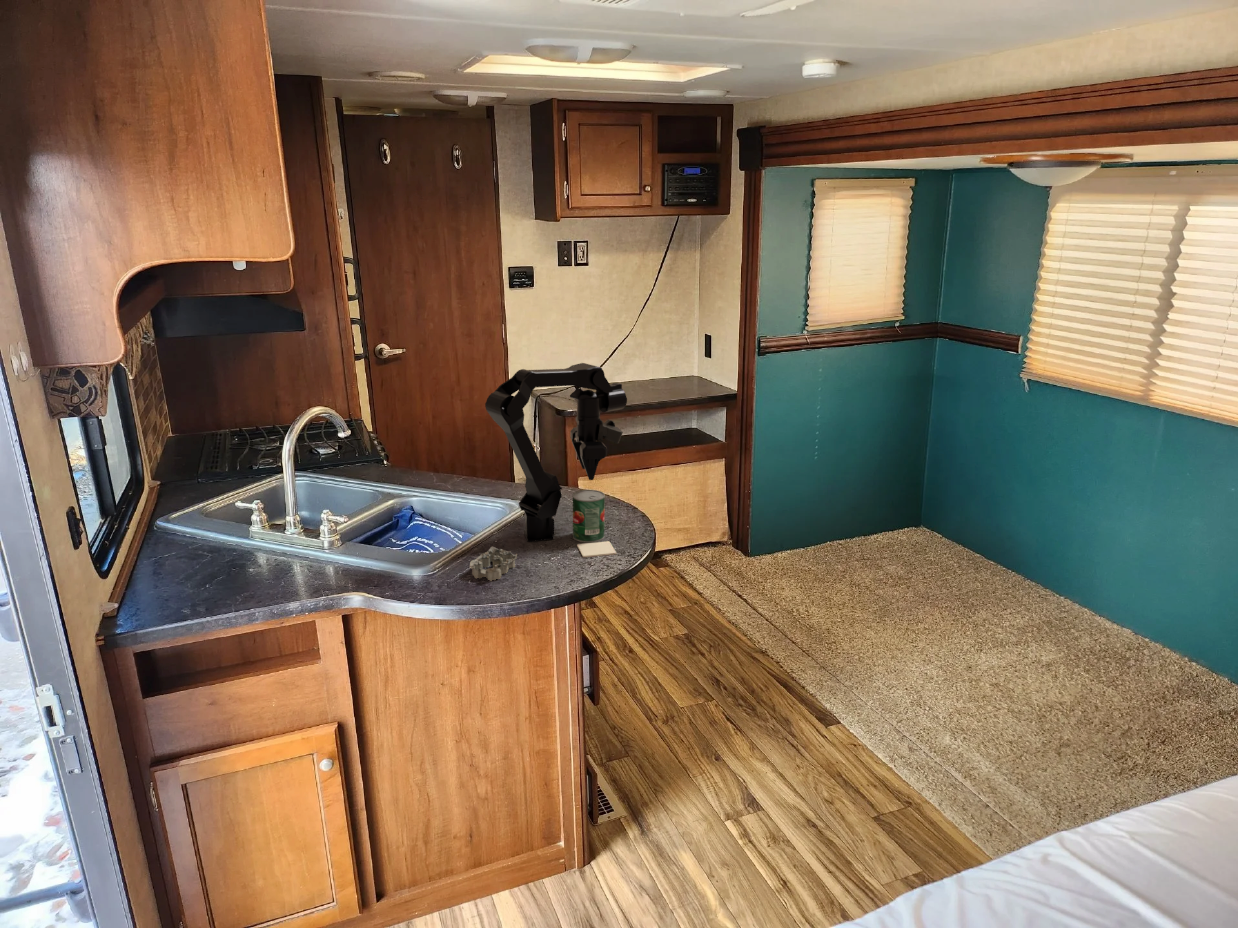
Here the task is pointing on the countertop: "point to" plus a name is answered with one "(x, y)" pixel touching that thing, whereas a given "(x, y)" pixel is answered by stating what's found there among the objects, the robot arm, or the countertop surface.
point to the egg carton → (500, 563)
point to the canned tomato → (588, 516)
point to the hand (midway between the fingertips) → (587, 474)
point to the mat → (596, 549)
